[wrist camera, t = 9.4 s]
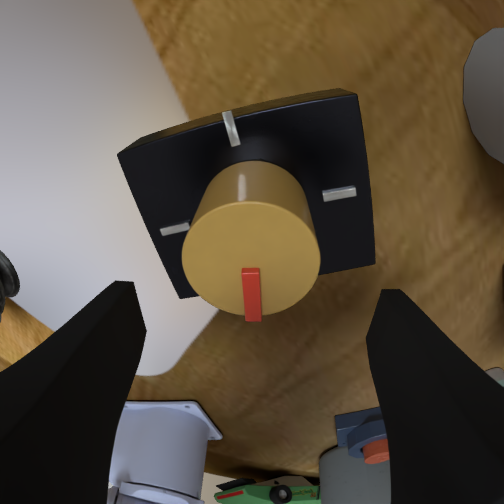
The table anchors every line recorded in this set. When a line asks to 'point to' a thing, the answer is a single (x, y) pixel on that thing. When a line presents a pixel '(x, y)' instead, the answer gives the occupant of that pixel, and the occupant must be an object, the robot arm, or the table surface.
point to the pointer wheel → (252, 242)
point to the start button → (376, 452)
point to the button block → (359, 430)
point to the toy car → (269, 491)
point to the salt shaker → (7, 281)
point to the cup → (486, 91)
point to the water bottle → (353, 479)
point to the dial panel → (266, 150)
